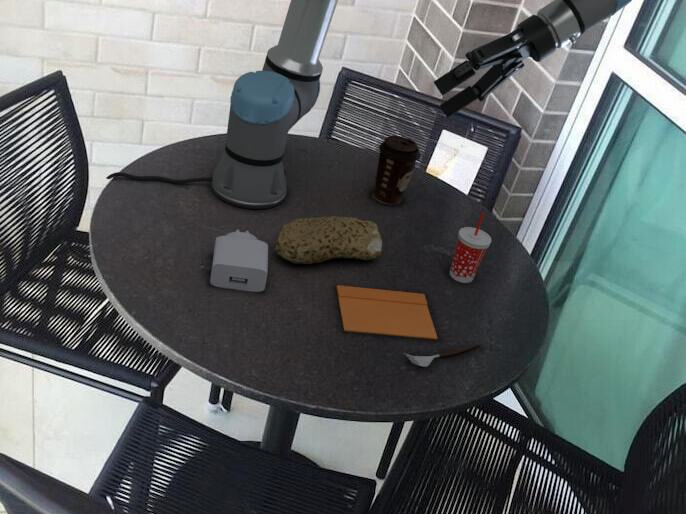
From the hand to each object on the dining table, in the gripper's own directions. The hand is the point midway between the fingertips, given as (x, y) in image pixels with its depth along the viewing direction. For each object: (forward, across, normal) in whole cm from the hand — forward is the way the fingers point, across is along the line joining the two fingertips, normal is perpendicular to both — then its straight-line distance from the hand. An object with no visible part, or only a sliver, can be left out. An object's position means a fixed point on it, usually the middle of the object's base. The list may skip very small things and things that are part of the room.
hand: (440, 100), depth 144 cm
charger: (+45, -6, -7) cm, 46 cm away
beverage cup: (+13, +13, -27) cm, 33 cm away
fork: (+23, -8, -39) cm, 46 cm away
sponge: (+32, +4, -11) cm, 35 cm away
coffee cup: (+18, +29, -3) cm, 34 cm away
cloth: (+28, -4, -27) cm, 39 cm away
